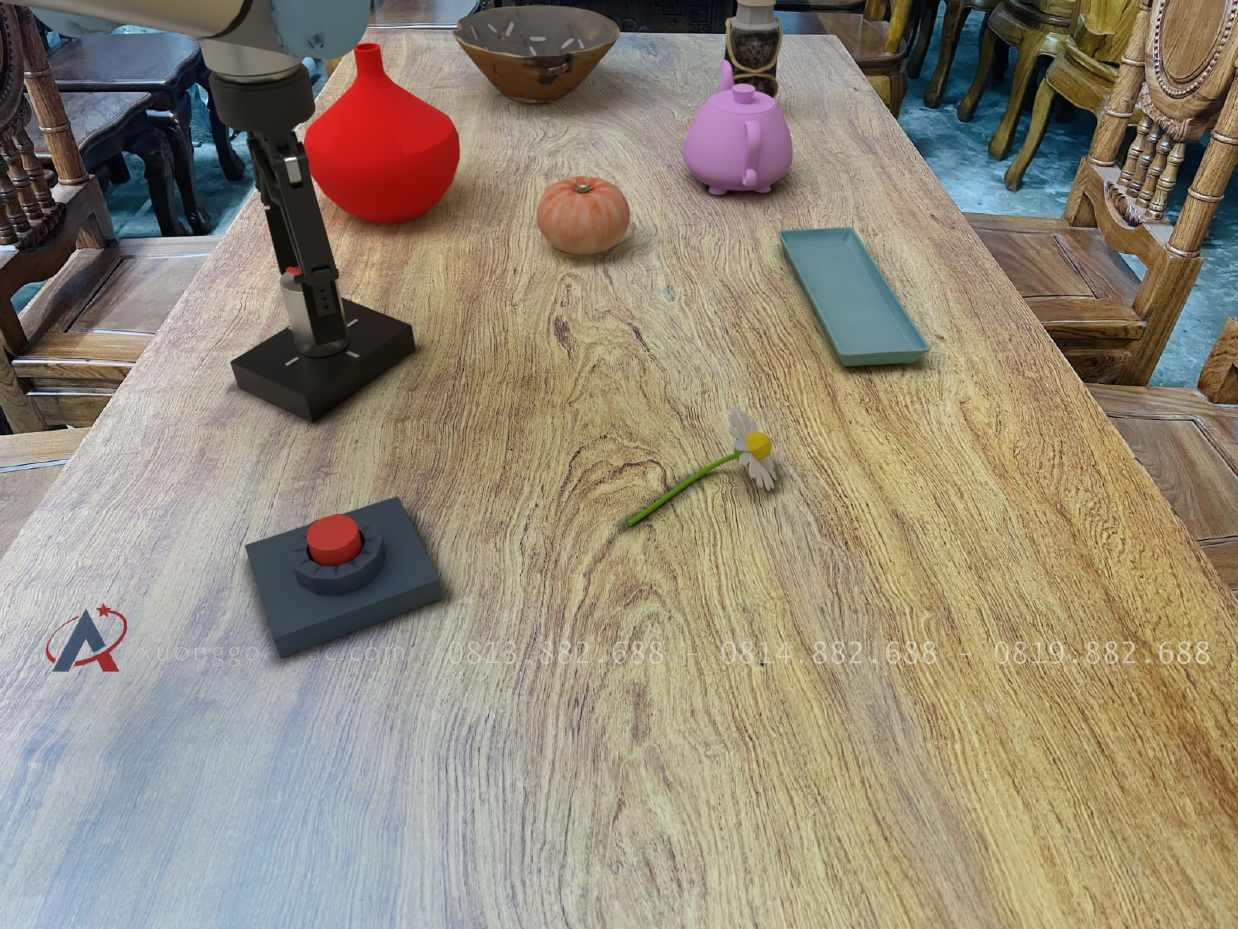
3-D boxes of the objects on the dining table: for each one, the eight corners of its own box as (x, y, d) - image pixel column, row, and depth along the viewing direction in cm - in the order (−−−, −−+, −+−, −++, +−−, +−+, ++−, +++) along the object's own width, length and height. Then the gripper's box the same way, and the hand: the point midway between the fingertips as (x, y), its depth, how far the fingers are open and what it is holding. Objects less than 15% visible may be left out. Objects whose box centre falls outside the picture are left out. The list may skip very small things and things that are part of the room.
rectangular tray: (774, 245, 112) (776, 226, 110) (849, 242, 112) (853, 222, 111) (836, 375, 92) (840, 354, 91) (926, 370, 93) (932, 349, 91)
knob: (360, 337, 91) (347, 270, 86) (323, 363, 88) (306, 295, 83) (323, 322, 93) (307, 255, 88) (284, 346, 90) (266, 279, 85)
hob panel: (312, 423, 86) (305, 395, 84) (237, 387, 90) (228, 360, 88) (416, 350, 95) (412, 323, 93) (344, 320, 99) (338, 294, 97)
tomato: (567, 277, 106) (565, 211, 100) (521, 238, 112) (517, 174, 107) (647, 252, 110) (649, 188, 105) (598, 216, 117) (598, 153, 112)
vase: (454, 242, 112) (434, 76, 99) (299, 239, 112) (260, 74, 99) (475, 175, 125) (460, 22, 113) (337, 173, 126) (307, 20, 113)
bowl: (638, 115, 141) (639, 46, 135) (474, 132, 136) (467, 61, 129) (594, 60, 159) (594, -4, 153) (448, 73, 154) (441, 7, 148)
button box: (280, 658, 66) (266, 622, 64) (251, 564, 73) (238, 528, 70) (443, 598, 71) (436, 562, 68) (401, 515, 77) (394, 479, 75)
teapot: (668, 148, 132) (673, 58, 124) (767, 144, 134) (777, 55, 126) (694, 213, 118) (701, 116, 110) (805, 208, 119) (819, 112, 111)
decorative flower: (647, 469, 71) (770, 385, 79) (604, 482, 76) (723, 402, 84) (696, 557, 72) (813, 465, 80) (650, 565, 77) (764, 478, 85)
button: (318, 573, 68) (313, 556, 66) (306, 540, 70) (301, 524, 69) (367, 556, 69) (363, 539, 68) (354, 525, 71) (350, 508, 70)
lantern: (769, 105, 145) (789, -79, 128) (779, 126, 139) (802, -65, 122) (712, 106, 144) (726, -79, 128) (720, 127, 138) (735, -65, 122)
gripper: (182, 28, 80) (243, 253, 94) (238, 130, 64) (302, 385, 78) (271, 17, 83) (318, 238, 97) (348, 112, 66) (391, 362, 80)
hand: (311, 304), depth 87 cm, fingers open, 13 cm apart
